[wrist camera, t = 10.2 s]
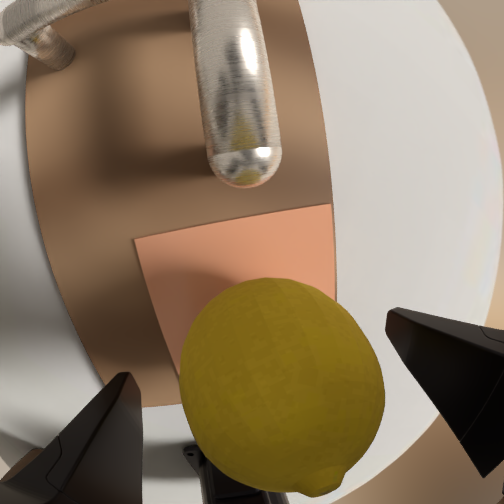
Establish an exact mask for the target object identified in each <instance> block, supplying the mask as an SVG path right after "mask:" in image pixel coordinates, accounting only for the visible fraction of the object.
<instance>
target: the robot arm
mask: <svg viewBox="0 0 504 504" xmlns="http://www.w3.org/2000/svg"><path fill="white" fill-rule="evenodd" d="M385 332H386V335H387V337H388V338H389V340H390V341H391V343H392V345H393V346H394V348H395V350H396V351H397V353H398V355H399V356H400V358H401V360H402V361H403V363H404V364H405V366H406V367H407V369H408V370H409V371H410V373H411V374H412V375H413V377H414V378H415V379H416V381H417V382H418V383H419V385H420V386H421V387H422V389H423V390H424V391H425V393H426V394H427V396H428V397H429V398H430V400H431V401H432V402H433V404H434V405H435V407H436V408H437V409H438V411H439V412H440V414H441V415H442V417H443V418H444V419H445V421H446V422H447V424H448V425H449V427H450V428H451V430H452V431H453V432H454V434H455V436H456V437H457V439H458V440H459V441H460V443H461V445H462V446H463V448H464V450H465V451H466V453H467V454H468V456H469V457H470V459H471V461H472V462H473V464H474V465H475V467H476V468H477V470H478V472H479V473H480V475H481V476H482V478H485V477H486V476H487V475H488V474H489V473H490V472H491V471H493V470H494V469H495V468H496V467H497V466H498V465H499V464H500V463H501V462H502V461H503V460H504V330H499V329H494V328H489V327H484V326H478V325H474V324H470V323H465V322H461V321H456V320H452V319H447V318H443V317H438V316H434V315H430V314H425V313H421V312H417V311H412V310H408V309H404V308H400V307H396V308H394V309H391V310H389V311H388V313H387V319H386V327H385ZM142 449H143V422H142V402H141V391H140V388H139V386H138V385H137V383H136V381H135V379H134V377H133V375H132V374H131V372H129V371H127V372H119V373H117V374H116V375H115V376H114V377H113V378H112V379H111V380H110V381H109V382H108V384H107V385H106V386H105V387H104V388H103V389H102V390H101V391H100V392H99V393H98V394H97V395H96V396H95V397H94V398H93V399H92V400H91V401H90V402H89V403H88V404H87V405H86V406H85V407H84V408H83V409H82V410H81V411H80V412H79V414H78V415H77V416H76V417H75V418H74V419H73V420H72V421H71V422H70V423H69V424H68V425H67V426H66V427H65V428H64V429H63V430H62V431H61V432H60V433H59V436H56V438H55V439H54V440H53V441H52V442H51V443H50V444H49V445H48V446H47V447H46V448H45V449H44V450H43V451H42V452H41V453H40V454H38V455H37V456H36V457H35V458H34V459H33V460H32V461H31V462H29V463H28V464H27V465H26V466H25V467H23V468H22V469H21V470H20V471H19V472H18V473H16V474H15V475H14V476H13V477H12V478H10V479H8V480H6V481H3V482H0V504H142ZM183 455H184V456H185V458H186V459H187V460H188V462H189V463H190V464H191V466H192V467H193V468H194V470H195V471H196V472H197V474H198V475H199V476H200V484H201V492H202V500H203V504H289V501H288V498H287V496H286V493H285V492H270V491H264V490H260V489H256V488H253V487H250V486H248V485H245V484H243V483H240V482H238V481H236V480H234V479H232V478H230V477H229V476H227V475H226V474H224V473H223V472H222V471H220V470H219V469H218V468H217V467H216V466H215V465H214V464H213V463H212V462H211V461H210V460H209V459H208V458H207V457H206V456H205V455H204V453H203V452H202V451H201V449H200V448H199V446H192V447H185V448H184V449H183ZM502 493H503V495H504V484H503V490H502ZM497 504H504V497H503V498H502V499H501V500H500V501H499V502H498V503H497Z"/></svg>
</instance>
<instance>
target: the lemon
mask: <svg viewBox="0 0 504 504" xmlns="http://www.w3.org/2000/svg"><path fill="white" fill-rule="evenodd" d="M179 389H180V396H181V401H182V405H183V409H184V412H185V415H186V418H187V421H188V424H189V426H190V429H191V431H192V434H193V436H194V438H195V440H196V442H197V444H198V446H199V448H200V449H201V451H202V452H203V453H204V455H205V456H206V457H207V458H208V459H209V460H210V461H211V462H212V463H213V464H214V465H215V466H216V467H217V468H218V469H219V470H220V471H222V472H223V473H224V474H226V475H227V476H229V477H230V478H232V479H234V480H236V481H238V482H240V483H243V484H245V485H248V486H250V487H253V488H256V489H260V490H264V491H270V492H299V493H301V494H304V495H306V496H308V497H319V496H322V495H325V494H328V493H330V492H332V491H334V490H336V489H337V488H338V487H340V485H341V483H342V480H343V478H344V475H345V473H346V472H347V471H348V470H349V469H351V468H352V467H353V466H354V465H355V464H356V463H357V462H358V461H359V460H360V459H361V458H362V457H363V455H364V454H365V452H366V451H367V450H368V448H369V447H370V445H371V443H372V442H373V440H374V438H375V436H376V434H377V431H378V429H379V426H380V423H381V420H382V416H383V412H384V407H385V389H384V382H383V376H382V371H381V368H380V365H379V362H378V359H377V357H376V354H375V352H374V350H373V348H372V346H371V344H370V342H369V341H368V339H367V338H366V336H365V335H364V333H363V332H362V330H361V329H360V327H359V326H358V324H357V323H356V321H355V320H354V318H353V317H352V316H351V315H350V314H349V313H348V311H347V310H346V309H344V308H343V307H342V306H341V305H340V304H338V303H337V302H336V301H334V300H333V299H331V298H330V297H329V296H327V295H326V294H324V293H323V292H322V291H320V290H319V289H317V288H315V287H313V286H310V285H307V284H304V283H301V282H298V281H294V280H291V279H286V278H267V277H264V278H259V279H253V280H247V281H244V282H241V283H239V284H237V285H234V286H232V287H230V288H227V289H226V290H224V291H223V292H222V293H220V294H219V295H217V296H216V297H215V298H213V299H212V300H211V301H210V302H209V303H208V304H207V305H206V306H205V307H204V308H203V310H202V311H201V312H200V313H199V314H198V316H197V317H196V318H195V320H194V321H193V323H192V325H191V328H190V330H189V332H188V334H187V337H186V339H185V341H184V344H183V347H182V352H181V360H180V373H179Z"/></svg>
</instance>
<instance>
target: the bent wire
mask: <svg viewBox="0 0 504 504" xmlns="http://www.w3.org/2000/svg"><path fill="white" fill-rule="evenodd" d="M107 1H110V0H16V1H14V2H13V3H11V4H10V5H8V6H7V7H6V8H5V9H4V10H3V11H2V12H1V13H0V45H2V46H11V45H15V46H16V47H18V48H20V49H21V50H23V51H25V52H26V53H28V54H29V55H31V56H33V57H34V58H36V59H38V60H39V61H41V62H42V63H44V64H46V65H47V66H49V67H50V68H52V69H53V70H55V71H60V70H63V69H65V68H66V67H68V66H69V65H70V64H71V62H72V61H73V59H74V57H75V49H74V47H73V46H71V45H70V44H69V43H68V42H67V41H66V40H65V39H64V38H63V37H62V36H61V35H60V34H59V33H58V32H57V31H55V30H54V29H53V28H52V27H51V26H50V25H51V24H53V23H55V22H57V21H59V20H61V19H64V18H66V17H68V16H70V15H73V14H75V13H77V12H80V11H82V10H85V9H87V8H90V7H93V6H95V5H98V4H101V3H104V2H107ZM188 7H189V17H190V27H191V36H192V45H193V54H194V63H195V71H196V79H197V87H198V95H199V102H200V109H201V117H202V124H203V131H204V138H205V144H206V151H207V158H208V161H209V165H210V167H211V169H212V171H213V172H214V174H215V175H216V176H217V177H218V178H219V179H220V180H221V181H223V182H224V183H226V184H228V185H230V186H233V187H237V188H252V187H256V186H259V185H261V184H263V183H265V182H266V181H268V180H269V179H270V178H271V177H272V176H273V175H274V174H275V172H276V171H277V169H278V167H279V165H280V162H281V158H282V144H281V137H280V130H279V123H278V116H277V110H276V104H275V97H274V91H273V85H272V79H271V74H270V68H269V62H268V57H267V52H266V46H265V41H264V36H263V31H262V26H261V21H260V17H259V12H258V7H257V3H256V0H188Z"/></svg>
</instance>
